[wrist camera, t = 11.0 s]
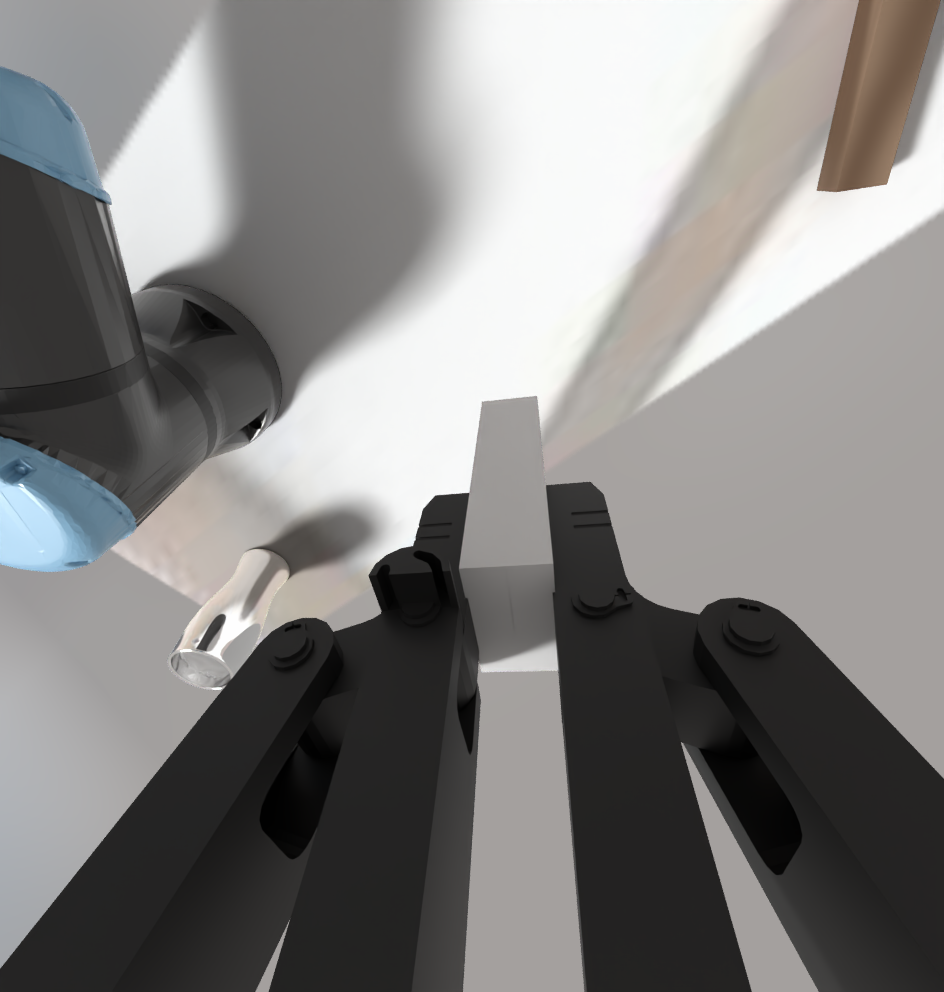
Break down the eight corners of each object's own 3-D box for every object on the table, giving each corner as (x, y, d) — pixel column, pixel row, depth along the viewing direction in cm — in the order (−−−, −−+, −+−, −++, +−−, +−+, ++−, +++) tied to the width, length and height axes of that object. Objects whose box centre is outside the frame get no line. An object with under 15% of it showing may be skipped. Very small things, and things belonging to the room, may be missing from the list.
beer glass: (228, 563, 59) (152, 667, 47) (256, 536, 56) (183, 639, 44) (274, 593, 62) (215, 699, 50) (304, 569, 59) (248, 674, 47)
